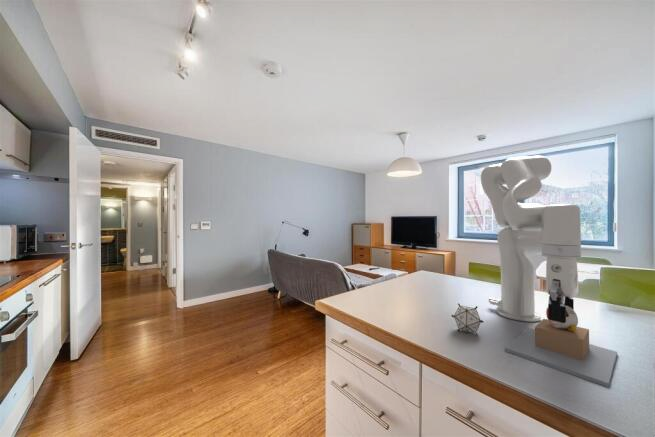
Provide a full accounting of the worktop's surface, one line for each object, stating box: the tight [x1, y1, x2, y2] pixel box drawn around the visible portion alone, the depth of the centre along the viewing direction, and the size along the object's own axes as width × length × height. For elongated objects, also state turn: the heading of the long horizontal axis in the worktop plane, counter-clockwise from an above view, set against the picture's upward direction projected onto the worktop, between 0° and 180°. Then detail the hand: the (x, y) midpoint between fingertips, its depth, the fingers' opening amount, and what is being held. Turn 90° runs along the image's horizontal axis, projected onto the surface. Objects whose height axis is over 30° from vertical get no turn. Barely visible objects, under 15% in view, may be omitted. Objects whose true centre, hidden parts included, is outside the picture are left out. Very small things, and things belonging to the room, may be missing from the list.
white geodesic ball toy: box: [450, 302, 484, 336], centre depth 76 cm, size 9×8×10 cm
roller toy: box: [545, 305, 579, 332], centre depth 65 cm, size 4×6×6 cm
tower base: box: [504, 318, 618, 388], centre depth 64 cm, size 18×20×6 cm
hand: (561, 316), depth 65 cm, fingers open, 9 cm apart
